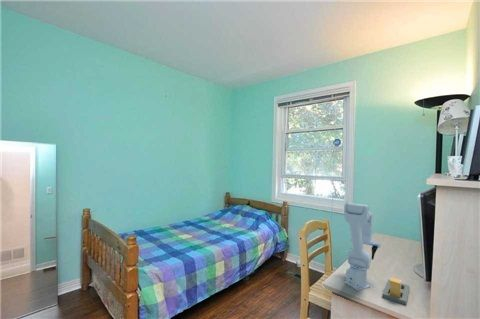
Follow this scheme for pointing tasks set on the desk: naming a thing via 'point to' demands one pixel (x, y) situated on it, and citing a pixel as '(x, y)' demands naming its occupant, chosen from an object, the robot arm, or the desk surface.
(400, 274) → the desk surface
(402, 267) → the desk surface
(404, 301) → the power strip
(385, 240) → the desk surface
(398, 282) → the plug
